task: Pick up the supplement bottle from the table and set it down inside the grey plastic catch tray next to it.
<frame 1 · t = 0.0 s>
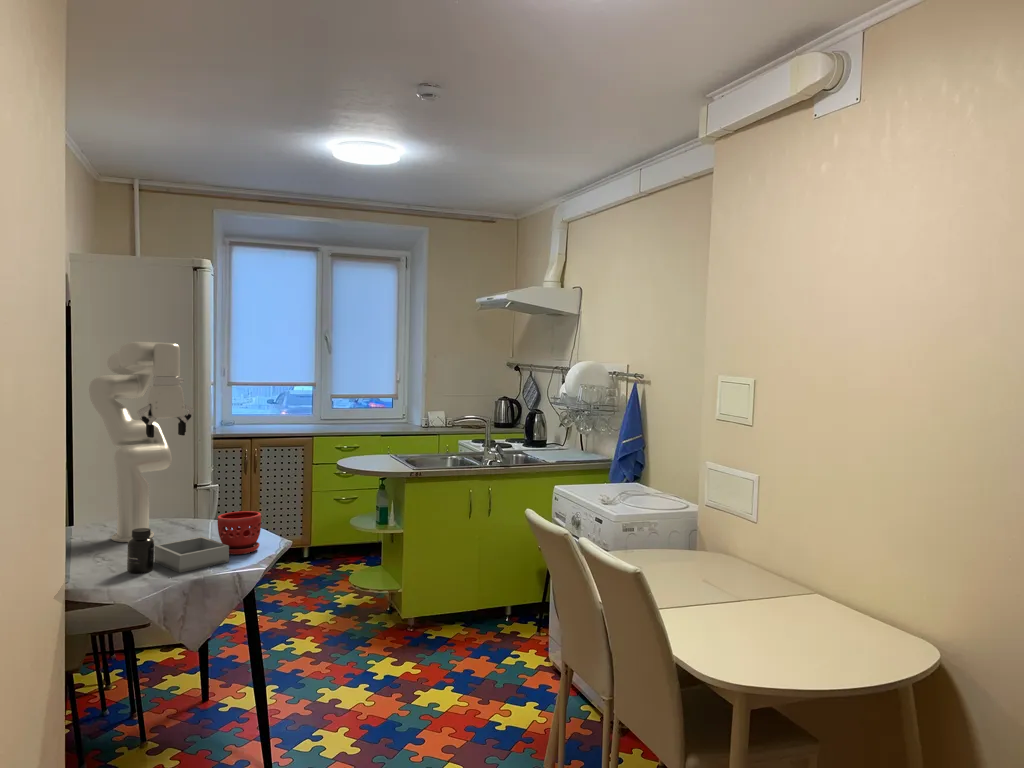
hand: (166, 436, 222), 37 cm above the table, tool pointing down, fingers open, 9 cm apart
supplement bottle: (140, 571, 203), on the table
plant pot: (239, 551, 226), on the table
catch tray: (191, 561, 213), on the table
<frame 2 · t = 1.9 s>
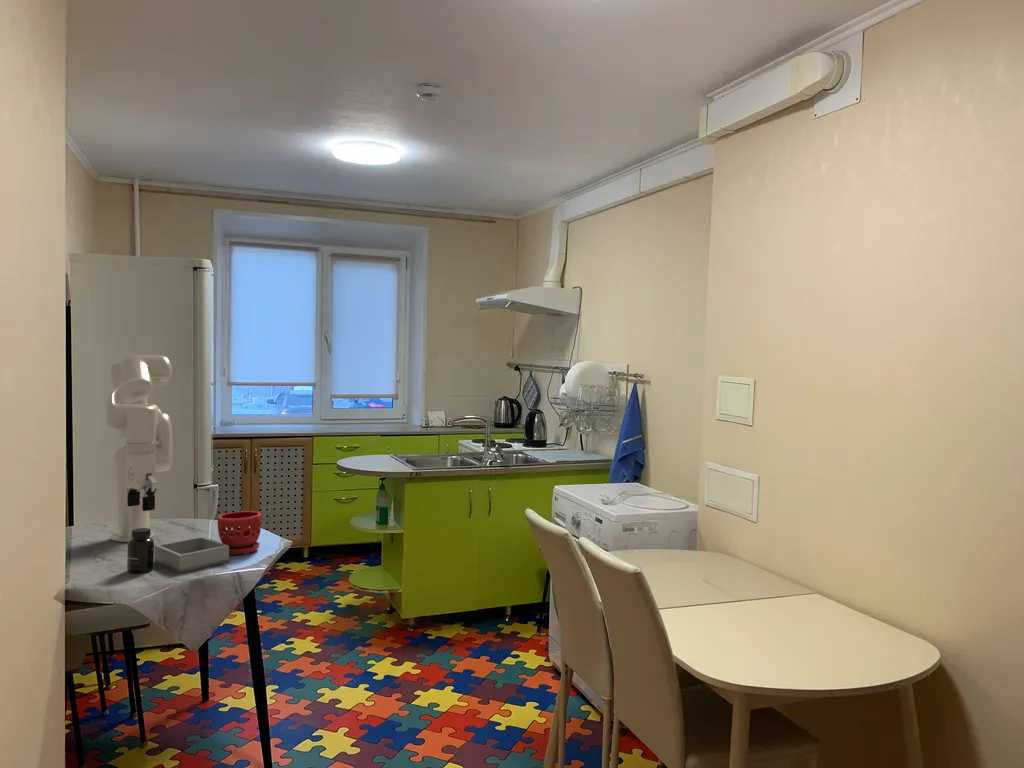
hand: (141, 508, 202), 18 cm above the table, tool pointing down, fingers open, 9 cm apart
nothing on the table moved.
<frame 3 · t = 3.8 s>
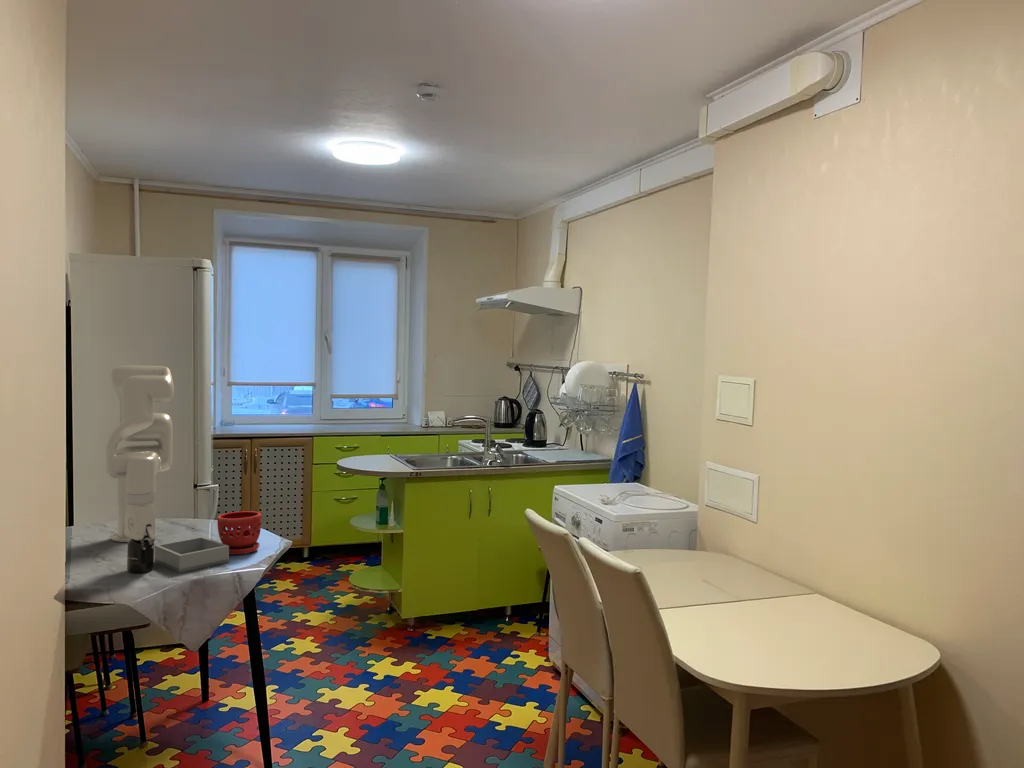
hand: (140, 559, 203), 3 cm above the table, tool pointing down, fingers closed on supplement bottle, 6 cm apart
supplement bottle: (140, 571, 203), on the table, touching gripper
everything else where it was.
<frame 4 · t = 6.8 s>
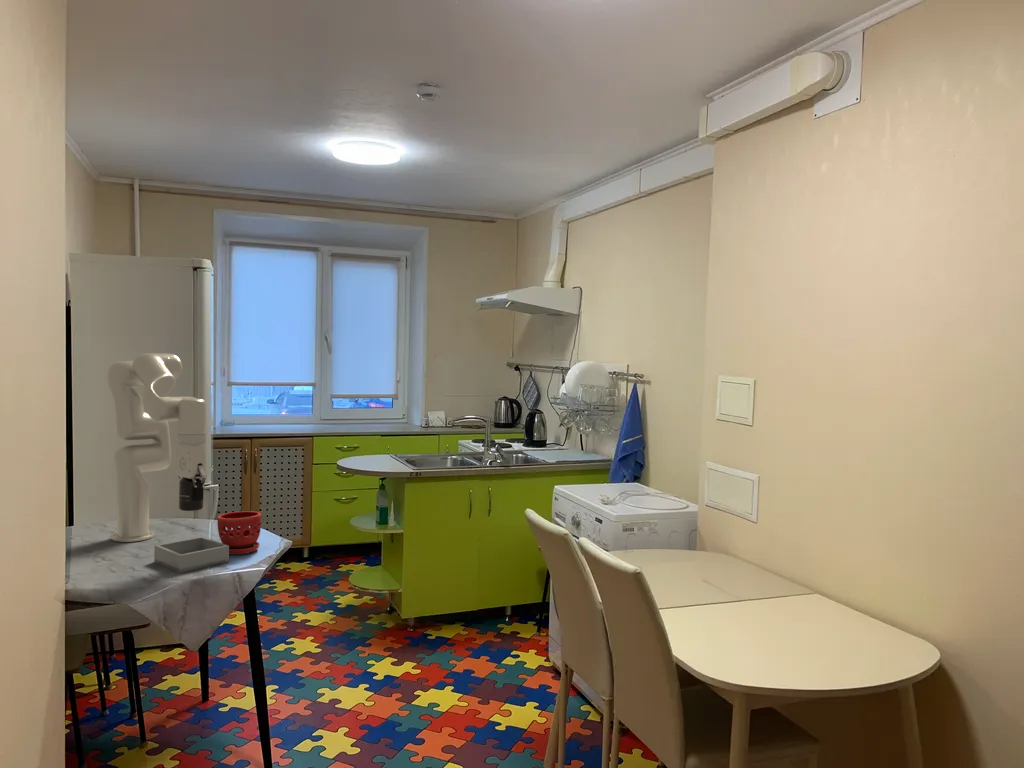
hand: (191, 498, 212), 19 cm above the table, tool pointing down, fingers closed on supplement bottle, 6 cm apart
supplement bottle: (191, 509, 212), point 16 cm above the table, touching gripper
everything else where it was.
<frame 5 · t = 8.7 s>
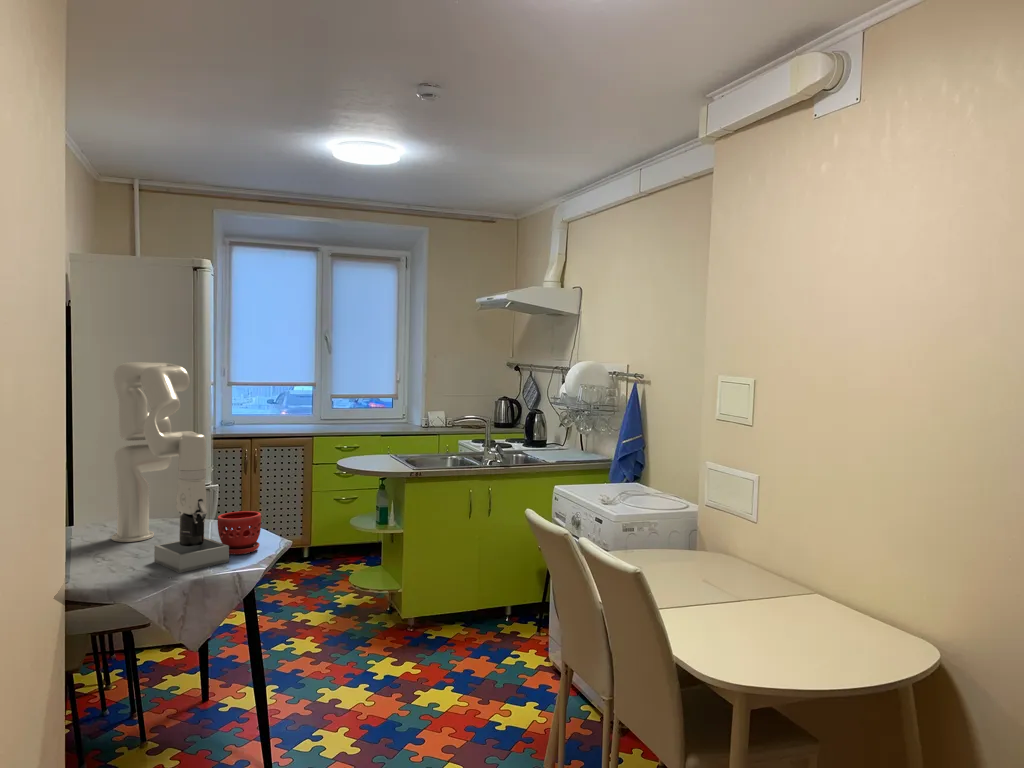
hand: (192, 533, 212), 9 cm above the table, tool pointing down, fingers closed on supplement bottle, 6 cm apart
supplement bottle: (191, 544, 212), point 5 cm above the table, touching gripper
everything else where it was.
when the fingers open (7 cm above the table, at t = 10.2 s): supplement bottle drops 2 cm, resting on catch tray.
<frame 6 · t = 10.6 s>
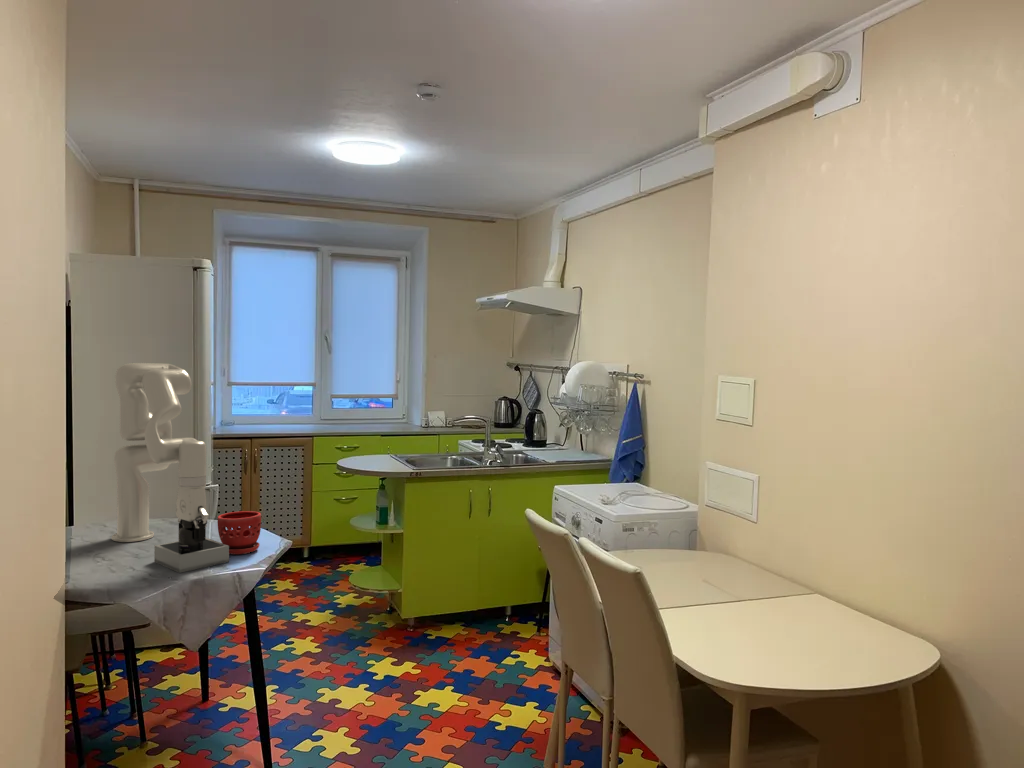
hand: (191, 538, 212), 7 cm above the table, tool pointing down, fingers open, 9 cm apart
supplement bottle: (191, 558, 213), point 1 cm above the table, touching catch tray
everything else where it was.
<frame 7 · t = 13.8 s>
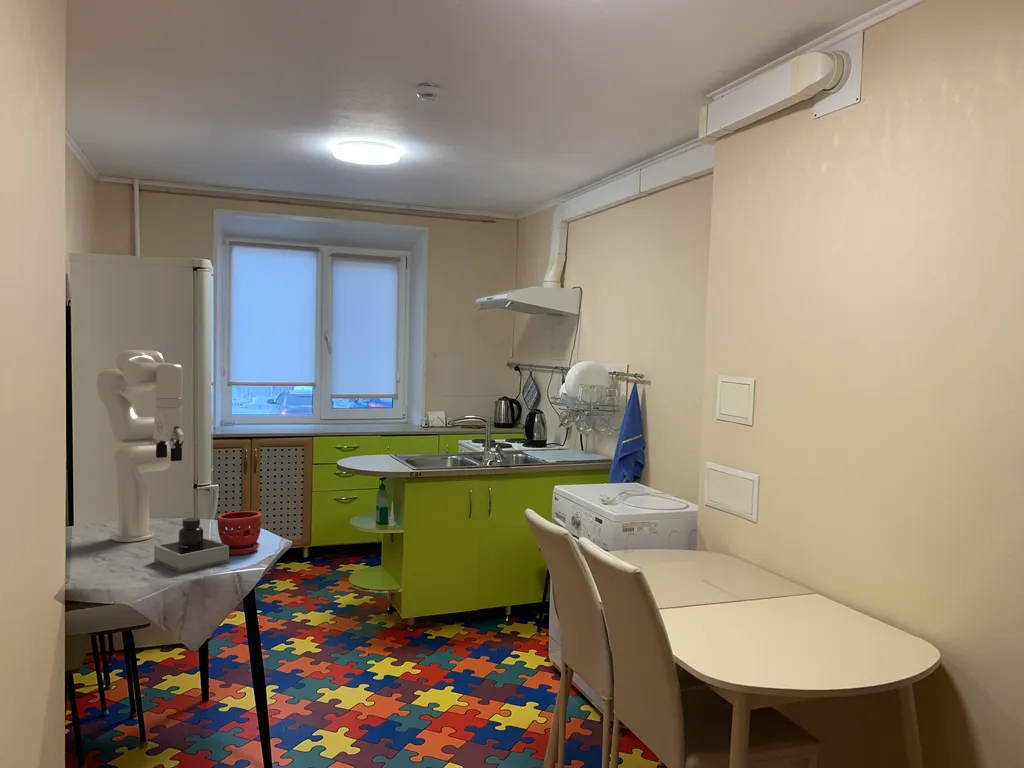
hand: (168, 459, 217), 30 cm above the table, tool pointing down, fingers open, 9 cm apart
nothing on the table moved.
at the end: supplement bottle inside the target area on the catch tray (0.3 cm from its centre), point 0.9 cm above the catch tray's base; the gripper is holding nothing; supplement bottle tilted 1° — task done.
